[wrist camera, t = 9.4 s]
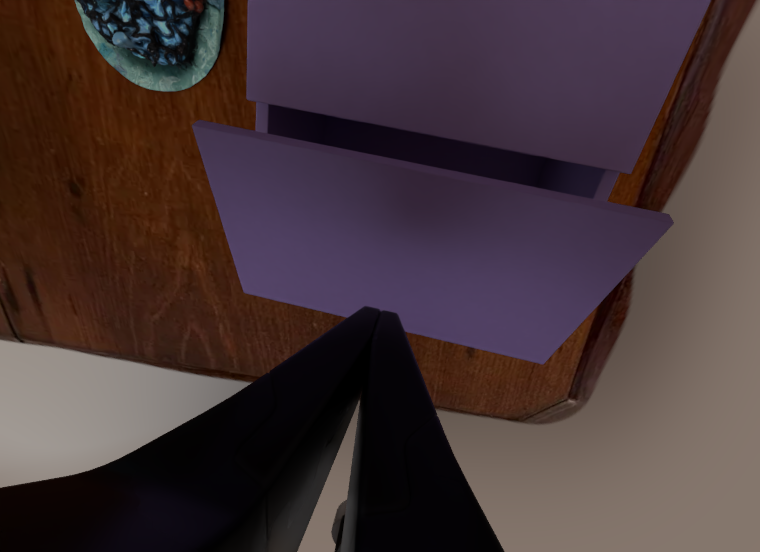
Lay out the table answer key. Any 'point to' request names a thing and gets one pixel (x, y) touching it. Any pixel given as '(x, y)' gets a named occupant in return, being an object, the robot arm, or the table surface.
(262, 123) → the file box
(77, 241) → the table surface
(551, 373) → the table surface
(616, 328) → the table surface
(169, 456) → the robot arm
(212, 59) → the dish
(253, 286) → the flap
